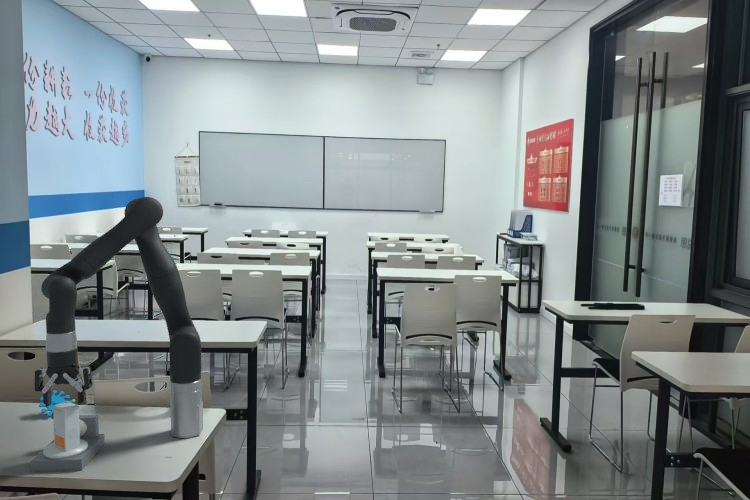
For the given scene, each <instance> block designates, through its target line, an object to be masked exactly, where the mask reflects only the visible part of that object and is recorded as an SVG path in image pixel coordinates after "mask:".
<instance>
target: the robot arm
mask: <svg viewBox="0 0 750 500" xmlns="http://www.w3.org/2000/svg"><path fill="white" fill-rule="evenodd" d="M163 216H164V209H163V205H162V203H161V202H160V200H157V199H156V198H153V197H150V196H143V197H139V198H134V199H132V200H130V201H128V202H127V204H126V206H125V209H124V216H123V218H121V220H120V221H119V222H117V224H115V225H114V226H113V227H112V228H110V229H109V230H107V232H105V233H103V234H101V236H98V237H97V238H96V239H94V240H93V241H92V242H90V243H88V244H87V246H85V247H84V248H83V249H82V250H80V252H78V253H77V254H76V255H75V256H74V257H73V258H71V260H70V261H68V262H66V263H65V264H63V265H61V266H60V267H59V268H57V269H55V270H54V271H52V272H51V273H50V274H49V275H47V277H45V279H44V280H43V281H42V283H41V288H40V289H41V293H42V295H43V296H44V297H45V298H46V299H48V300H49V301H48V302H49V304H48V305H49V307H48V308H49V309H48V310H49V311H48V312H47V313H46V316H45V331H46V333H45V334H46V335H45V349H46V352H45V353H46V367H47V368H43V367H39V368H38V369H36V370H34V391H35V392H40V393H42V397H43V401H42V403H43V404H44V405H46V406H50V405H51V404H52V399H51V397H52V391H51V389H52V388H53V387H54V385H69V384H70V385H71V386H72V387H73V388H75V389H76V390H77V402H78V403H77V405H78V406H82V405H84V403H85V402H86V400H87V397H86V395H87V394H86V390H90V389H91V388H92V387H93V386H94V385H93V376H92V367H91V366H90V365H87V366H85V367H80V366H79V354H78V353H79V352H78V351H79V350H78V336H77V332H76V331H77V330H76V316H75V312H76V308H77V307H76V306H77V301H78V289H77V285H78V284H80V283H81V282H82V281H84V280H87V279H91V278H92V277H93V276H95V275H96V273H98V272H99V271H100V270H101V269H102V268H104V266H106V264H108V263H109V262H110V261H111V260H112V259H113V258H114V257H115V256H116V255H118V253H119V252H121V250H123V249H124V248H125V247H127V245H128V244H130V243H131V242H133V240H134V241H135V243H136V246H137V249H138V252H139V256H140V258H141V263H142V266H143V269H144V272H145V276H146V279H147V282H148V284H149V288H150V291H151V293H152V295H153V298H154V300H155V302H156V304H157V305H158V307H159V309H160V311H161V313H162V315H163V317H164V320H165V325H166V327H167V328H166V329H167V332H168V338H169V347H168V348H169V380H170V381H169V385H170V386H169V387H170V389H169V390H170V435H171V436H172V437H174V438H177V439H187V438H189V439H190V438H193V437H196V436H201V433H202V431H203V429H204V401H203V399H202V342H201V337H200V334H199V332H198V331H197V329H196V326H195V324H194V322H193V319H192V317H191V315H190V312H189V310H188V306H187V300H186V294H185V290H184V285H183V281H182V277H181V276H180V271H179V269H178V266H177V264H176V262H175V260H174V258H173V257H172V255H171V253H170V252H169V251H168V249H167V248H166V246H165V245H164V243H163V241H162V239H161V236H160V233H159V229H158V226H157V225H158V224H159V223H160V222H161V220H162V218H163ZM79 373H80V375H81V376H83V381H82V379H81V378H80V376H78V375H79ZM46 375H47V377H48V378H49V379H48V381H47V383H46V384H45V385H44V377H45V376H46Z"/></svg>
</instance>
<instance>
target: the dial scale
mask: <svg viewBox="0 0 750 500" xmlns="http://www.w3.org/2000/svg"><path fill="white" fill-rule="evenodd" d="M99 423H100V421H99V414H86V415H84V414H83V415H80V414H79V433H80V447H77V448H74V449H72V450H69V451H64V450H62V449H60V448H58V447H56V446H54V439H53V440H52V441H50V443H49V444H48V445H47V446H46V447H44V448H43V449H42V450H41V451H40V452H39V453H38V454H37V455H36V456H35V457H34V458H33V459H31V460H30V470H31V471H30V472H31V473H32V472H33V473H35V472H37V473H38V472H40V473H41V472H63V471H65V472H67V471H83V470H84V469H85V467H86V466H87V465H88V463H89V462H91V460H92V459H93V458H94V457H95V456H96V454H97V453H99V451H100V449H102V447H103V446H104V445H105V444H106V442H105V441H106V440H105V438H106V437H105V433H100V432H99V431H100V428H99ZM89 464H90V463H89Z"/></svg>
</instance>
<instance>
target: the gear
mask: <svg viewBox="0 0 750 500" xmlns="http://www.w3.org/2000/svg"><path fill="white" fill-rule="evenodd" d="M57 393H58V390H55V389H54V390H52V391H51V394H52V395H51V399H52V404H51V405H50V406H46V405H45V404H44V403H43V396H41V397H40V399H39V401H41V402H39V404H38V407H39V408H41V410H40V411H41V414H45V413H46V412H47V413H46V416H47V417H49V418H50V417H51V416H53V405H56V404H60V403H63V402H70V403H74V404H75V402H76V399H75V398H74V399H73V398H72V399H70V398H71V397H70V394H66V395H65V392H64V391H63V390H60V392H59V394H58V395H56V394H57ZM64 395H65V396H64ZM69 399H70V400H69Z"/></svg>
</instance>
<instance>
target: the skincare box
mask: <svg viewBox="0 0 750 500" xmlns="http://www.w3.org/2000/svg"><path fill="white" fill-rule="evenodd" d="M79 406H80V405H78V404H75V403H70V402H63V403H60V404H56V405H53V413H52V416H53V440H54V446H56V447H58V448H60V449H62V450H64V451H69V450H72V449H74V448H77V447H80V433H79V415H80V410H79V409H80V408H79Z"/></svg>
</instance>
